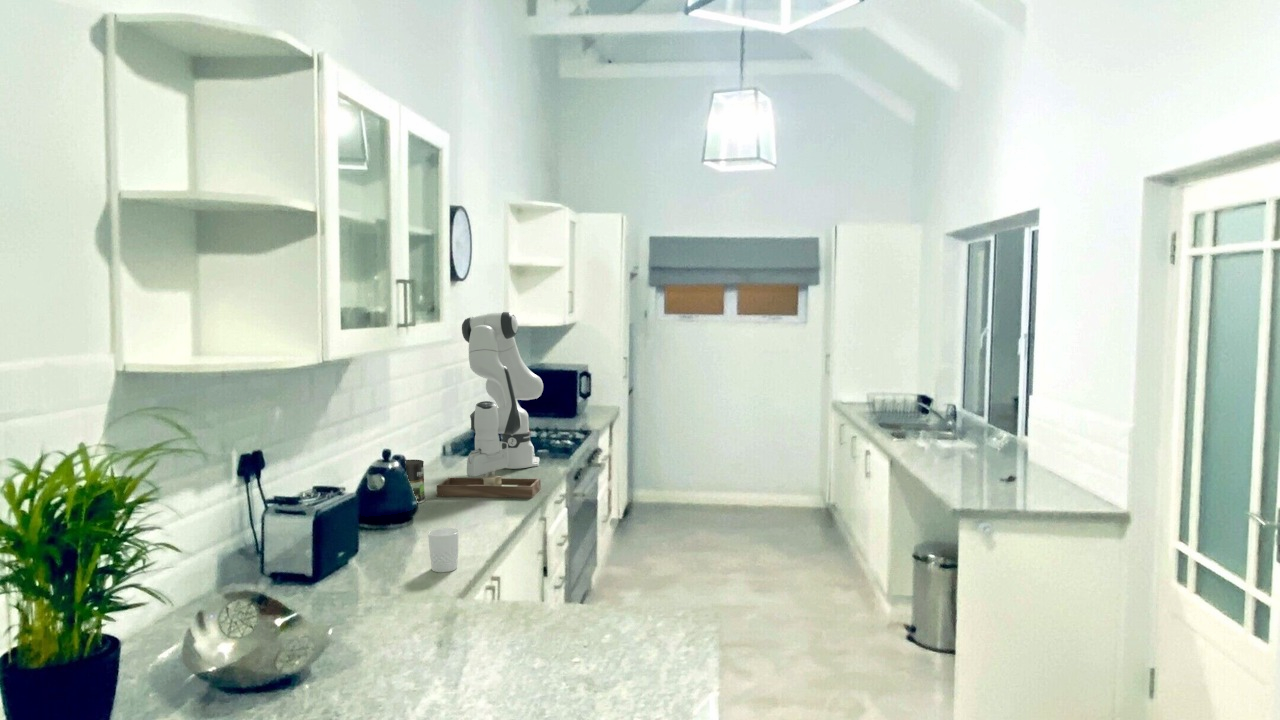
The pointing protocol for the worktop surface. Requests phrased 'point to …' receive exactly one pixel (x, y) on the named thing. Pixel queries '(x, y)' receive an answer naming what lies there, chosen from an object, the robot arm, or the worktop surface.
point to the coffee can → (416, 478)
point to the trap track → (488, 488)
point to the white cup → (443, 549)
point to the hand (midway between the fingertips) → (488, 484)
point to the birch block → (492, 480)
